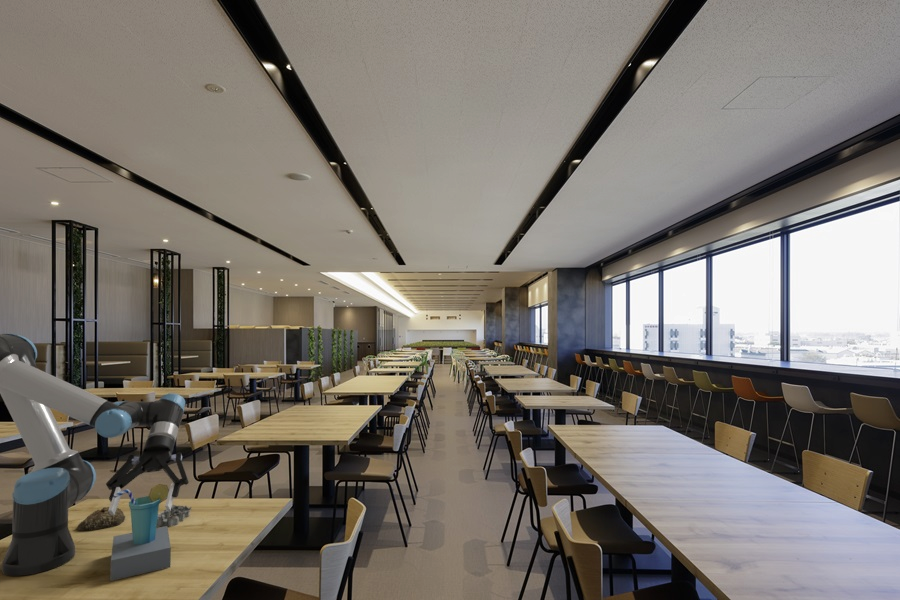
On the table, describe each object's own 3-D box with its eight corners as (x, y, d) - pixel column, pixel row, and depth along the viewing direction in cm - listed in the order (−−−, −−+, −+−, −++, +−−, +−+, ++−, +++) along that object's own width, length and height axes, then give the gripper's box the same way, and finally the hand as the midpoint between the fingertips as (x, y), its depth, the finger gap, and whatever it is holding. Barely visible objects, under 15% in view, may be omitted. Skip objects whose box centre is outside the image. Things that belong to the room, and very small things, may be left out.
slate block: (110, 581, 124) (110, 560, 124) (113, 554, 138) (113, 536, 138) (170, 567, 131) (170, 547, 131) (167, 543, 145) (167, 525, 145)
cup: (120, 555, 127) (121, 495, 127) (104, 548, 131) (106, 490, 131) (174, 535, 139) (175, 480, 139) (158, 529, 143) (159, 476, 143)
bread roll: (121, 527, 158) (121, 511, 158) (73, 534, 153) (74, 517, 153) (129, 513, 170) (129, 498, 170) (85, 519, 165) (86, 504, 165)
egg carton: (174, 528, 157) (174, 515, 157) (151, 527, 157) (151, 514, 158) (194, 515, 168) (194, 502, 168) (172, 514, 168) (172, 502, 168)
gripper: (208, 445, 154) (193, 512, 138) (118, 450, 149) (91, 521, 133) (203, 431, 149) (187, 499, 133) (110, 436, 144) (82, 508, 128)
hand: (139, 510), depth 133 cm, fingers open, 13 cm apart
